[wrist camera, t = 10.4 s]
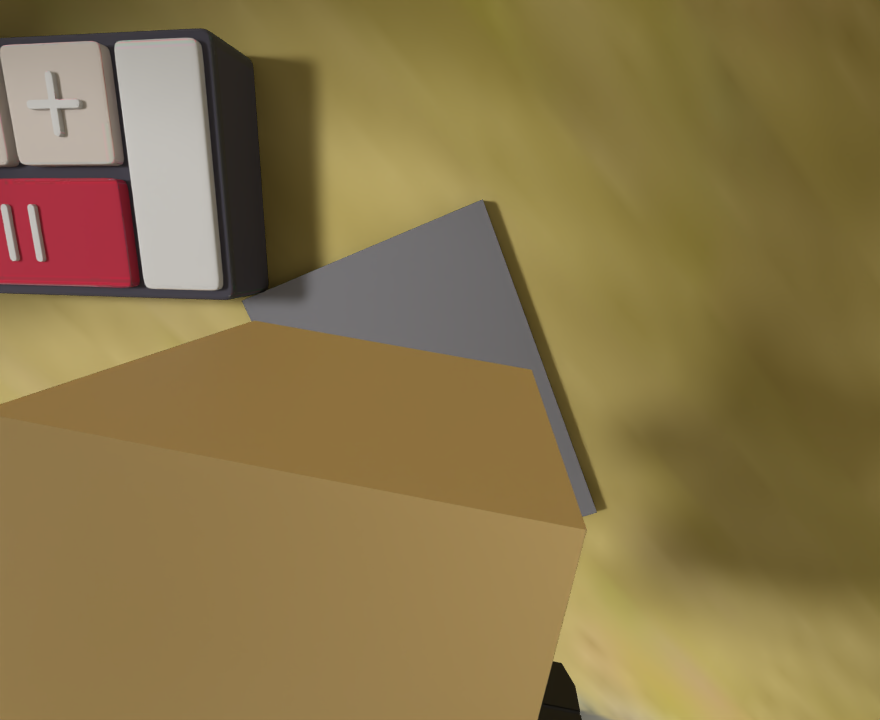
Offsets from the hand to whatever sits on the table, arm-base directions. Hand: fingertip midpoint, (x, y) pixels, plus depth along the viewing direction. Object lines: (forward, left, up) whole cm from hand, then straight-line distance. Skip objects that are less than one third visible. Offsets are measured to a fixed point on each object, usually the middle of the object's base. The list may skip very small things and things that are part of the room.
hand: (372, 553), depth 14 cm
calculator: (-16, -10, -13) cm, 24 cm away
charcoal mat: (0, 0, -13) cm, 13 cm away
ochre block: (+6, -4, +5) cm, 9 cm away
